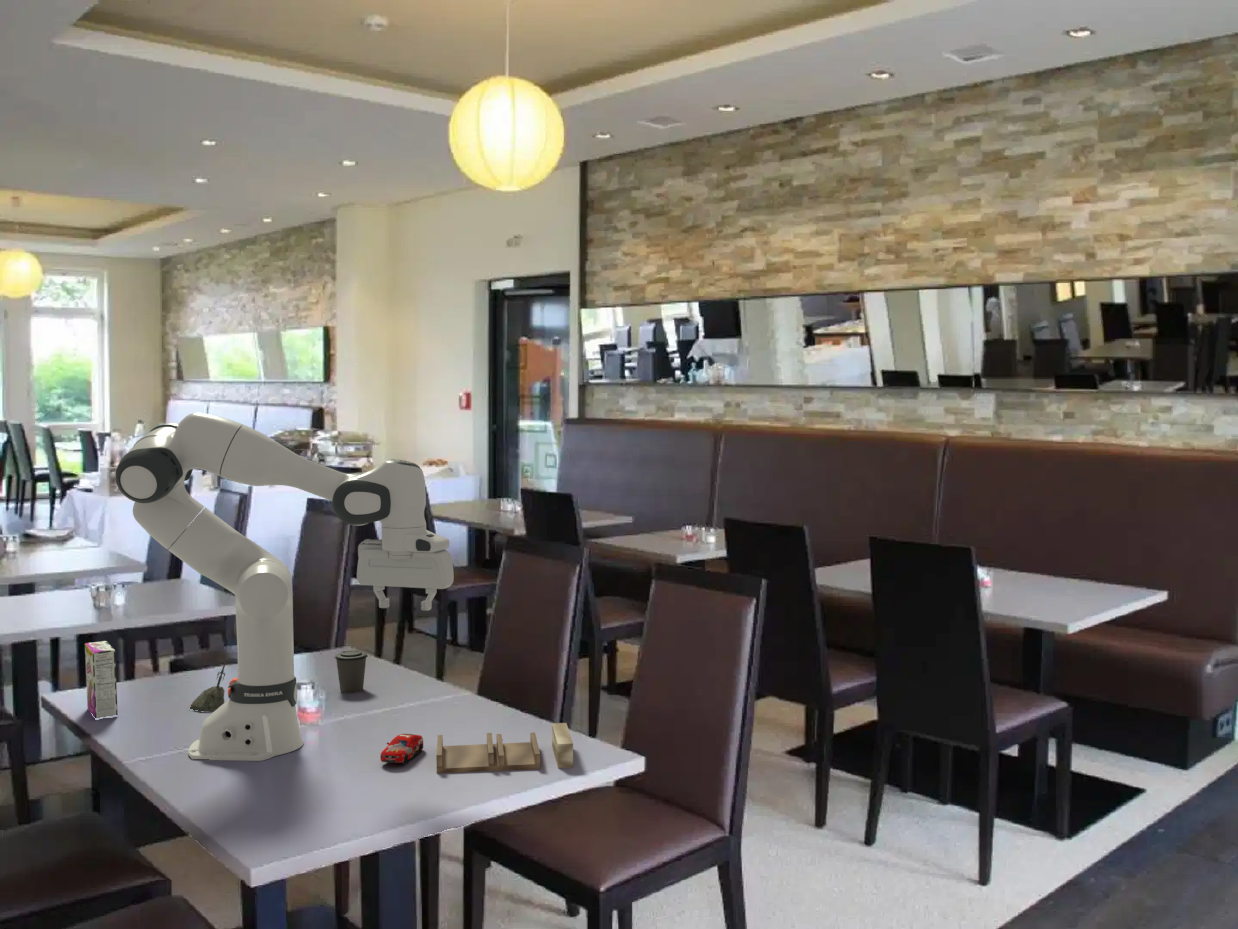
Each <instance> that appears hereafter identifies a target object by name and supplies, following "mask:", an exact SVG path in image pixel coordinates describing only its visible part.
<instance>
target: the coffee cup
mask: <svg viewBox="0 0 1238 929" xmlns="http://www.w3.org/2000/svg"><path fill="white" fill-rule="evenodd" d="M368 657H369V655H368V653H367V652H366V651H360V650H353V649H351V650H346V651H344V650H343V651H341V652H340V653H337V654H335V656H334V659H335V660H336V661H335V662H336V668H337V674H338V675H337V676H338V683H339V690H340V692H341V693H346V694H353V693H359V692H362V691H363V690H364V683H365V675H366V674H365V672H366V663H367V658H368Z"/></svg>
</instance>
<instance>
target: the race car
mask: <svg viewBox="0 0 1238 929" xmlns="http://www.w3.org/2000/svg"><path fill="white" fill-rule="evenodd" d="M386 745H387V746H386V747H385V748H384V749H383V750H382V751H381V753H380V761H381V762H382V763H390V764H391V763H392V764H400V763H401V764H403V765H405V764H407V763H408V760H411V759H412V758H413V757H414V756H416V755H417V754H421V753H422V750H423V749H424V738H423V736H422V735H420V734H412V733H400V734H398V735H396V736H395V737H394V738H392V740H391V741H390V742H386Z"/></svg>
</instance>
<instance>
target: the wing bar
mask: <svg viewBox="0 0 1238 929" xmlns="http://www.w3.org/2000/svg"><path fill="white" fill-rule="evenodd" d="M551 748H552V752H553V755H554V759H555V763H556V767H557V769H568V768H569V769H570V768H574V743H573V739H572V736H571V733H570V730H569V726H568V724H567V722H557V723H551Z"/></svg>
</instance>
